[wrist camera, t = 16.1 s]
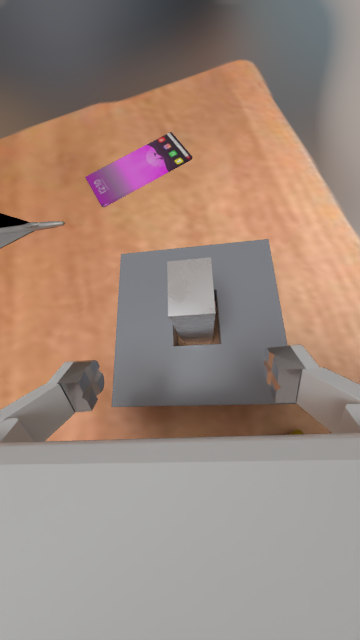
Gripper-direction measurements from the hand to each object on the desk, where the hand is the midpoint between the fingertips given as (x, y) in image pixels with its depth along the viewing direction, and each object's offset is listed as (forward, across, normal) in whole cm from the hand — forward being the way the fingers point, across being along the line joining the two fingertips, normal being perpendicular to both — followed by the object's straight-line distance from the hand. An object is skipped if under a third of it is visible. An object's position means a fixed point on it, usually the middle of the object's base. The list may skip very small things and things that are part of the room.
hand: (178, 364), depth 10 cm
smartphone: (+30, +6, -13) cm, 33 cm away
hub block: (+12, -1, +5) cm, 13 cm away
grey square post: (+12, -1, +5) cm, 13 cm away
